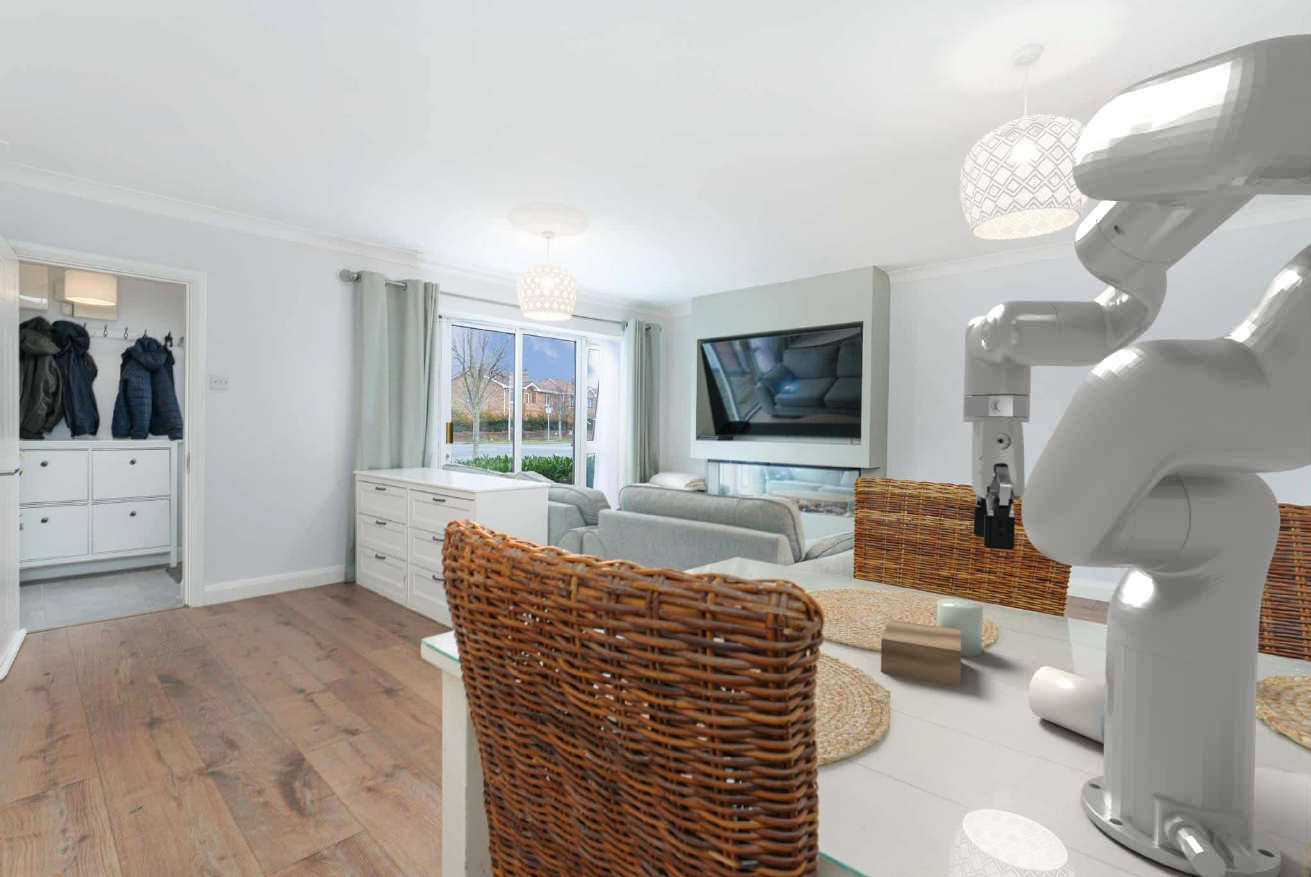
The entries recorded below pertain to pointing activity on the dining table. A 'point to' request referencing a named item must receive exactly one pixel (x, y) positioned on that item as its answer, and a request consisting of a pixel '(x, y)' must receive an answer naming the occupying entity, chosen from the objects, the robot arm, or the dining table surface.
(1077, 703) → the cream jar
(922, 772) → the dining table surface
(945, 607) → the pale green rounded cylinder
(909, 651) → the tan box
